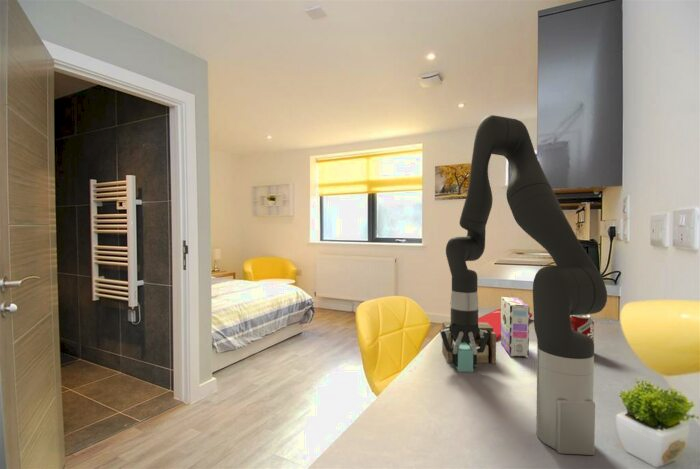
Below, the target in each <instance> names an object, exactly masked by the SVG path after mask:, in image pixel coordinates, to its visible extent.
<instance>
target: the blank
mask: <svg viewBox="0 0 700 469" xmlns="http://www.w3.org/2000/svg"><path fill="white" fill-rule="evenodd" d="M453 339H454V337H451V347H452V344H453ZM457 354H458V366H457V367H455V368H456V370H457V371H458V372H461V373H463V372H465V373H470V372H474V367H473V350H472V349H471V347H470V346H469V345H468V344H467V343H466V342H463V343H460V346H459V348H458V351H457Z"/></svg>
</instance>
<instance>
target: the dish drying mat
mask: <svg viewBox="0 0 700 469" xmlns="http://www.w3.org/2000/svg"><path fill="white" fill-rule="evenodd" d="M532 317H533V313H531V312H529V320H530V319H531V318H532ZM478 322H485V323H488V324H489V325H490V326H492V327H493V332H495V333H496V341H498V340H501V308H500V309H495V310H493V311H491V312H489V313H486V314H484V315H482V316H480V317H478Z"/></svg>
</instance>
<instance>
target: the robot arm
mask: <svg viewBox="0 0 700 469" xmlns="http://www.w3.org/2000/svg"><path fill="white" fill-rule="evenodd" d="M492 155H494V156H501V157H505V158H506V160H507V161H508V163H509V166H510V168H511V171H512V172H511V174H512V175H511V177H510V179H509V182H508V184H507V188H506V193H505V194H506V201H507V203H508V206H509V209H510V211H511V214H512V216H513V218H514V220H515V223H516V224H517V225H518V226H519V227H520V229H522V230H523V232H525V233H526V235H528V236H529V237H531V239H532V240H534V241H535V242H537V243H538V244H539V246H541V247H542V248H544V249H545V251H546V252H548V254H549V255H550V257H551V258H552V260H553V261H554V264H555V265H549V266H543V267H541V268H540V269H538V271H537V272H536V273H535V276H534V278H533V283H532V305H533V306H532V307H533V308H532V309H533V328H534V332H535V336H536V340H537V341H536V342H537V346H536V350H537V351H536V352H537V353H536V357H537V358H536V409H535V410H536V428H535V429H536V431H535V432H536V433H535V434H536V436H537V437H538V439H539V440H540V441H541V442H542V443H544V444H545V445H547V446H549V447H550V448H553V449H554V450H556V452H557V453H558V454H566V455H567V454H568V455H589V456H590V455H591V456H595V447H596V446H595V438H596V437H595V436H596V433H595V432H596V403H595V402H594V379H595V378H594V373H595V369H594V367H595V341H594V342H593V340H592V339H591V338H590V337H589V336H587V335H585V334H582V333H580V332H577V331H574V330H572V327H571V320H570V317H571V316H572V315H583V314H587V315H592V314H593V315H594V314H597V313H600V312H601V311H603V309H604V308H605V307H606V305H607V301H608V291H607V287H606V283H605V281H604V279H603V276H602V275H601V272H599V269H598V268H597V266H596V265H595V263H594V262H593V260H592V258H591V256H589V254H588V253H587V251H586V249H585V247H584V246H583V245H582V244H581V242H580V240H579V238H578V237H577V235H576V233H575V232H574V230H573V228H572V226H571V224H570V222H569V221H568V219H567V217H566V214H565V213H564V210H563V208H562V207H561V204H560V202H559V199H558V197H557V195H556V194H555V192H554V189H553V187H552V186H551V184H550V182H549V180H548V179H547V177H546V174H545V172H544V170H543V168H542V166H541V164H540V161H539V159H538V157H537V154H536V151H535V149H534V146H533V142H532V138H531V136H530V134H529V130H528V129H527V127H526V125H525V123H524V122H523V121H521V120H519V119H516V118H511V117H507V116H500V115H494V114H493V115H492V114H491V115H487V116H486V117H484V118H483V119H482V120H481V121H480V123H479V125H478V126H477V129H476V132H475V136H474V142H473V151H472V155H471V165H470V172H469V180H468V186H467V187H468V188H467V191H466V192H467V193H466V197H465V200H464V203H463V208H462V210H461V214H460V216H459V217H460V219H459V226H460V227H461V228H462V229H464V230H466V231H467V234H466V236H454V237H451V238H450V239H448V241H447V243H446V247H445V255H446V256H445V257H446V260H447V264H448V267H449V271H450V275H451V293H450V301H449V302H450V303H449V305H450V322H451V324H450V326H449V328H448V329H445V330H443V328H440V329H439V334H440V337H441V340H443V343H444V346H445V349H446V350H447V351H448V352H451V363H452V365H453V366H454V367H455V368H456V367H457V366H458V354H457V351H458V348H459V346H460V343H463V342H466V343H469V345H470V347H471V349H472V350H473V368H476V366H477V364H478V362H477V354H478V353H480V352H481V353H483V352H484V350H485V347H486V344H487V341H488V338H489V333H488V332H487V331H486V330H484V331H483V330H480V328H479V327H478V318H479V295H478V294H479V292H478V274H477V271H475V270H474V269H473V270H472V269H469V268H468V266H467V262H474V261H477V260H479V259H480V258H481V257H482V256H483V254H484V251H485V249H486V232H487V231H486V226H487V223H488V220H489V216H490V213H491V211H492V208H493V192H492V188H491V187H492V186H491V184H490V180H489V163H490V160H491V157H492ZM449 333H451V334H452V335H453V337H454V339H453V344H452V347H451V346H449V343H448V340H447V337H448V336H449ZM479 333H480V337H481V338H480V341H479V344H478V347H476V344H475V341H474V339H475V338H476V336H477V335H478V334H479Z"/></svg>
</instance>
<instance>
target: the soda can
mask: <svg viewBox="0 0 700 469" xmlns="http://www.w3.org/2000/svg"><path fill="white" fill-rule="evenodd" d="M570 320H571V327H572V330H574V331H577V332H580V333H582V334H585V335H587V336H589V337H590V338H591V339H592V340H593V342H594V343H595V321H594V320H593V319H592V315H591V314H583V315H570Z"/></svg>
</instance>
